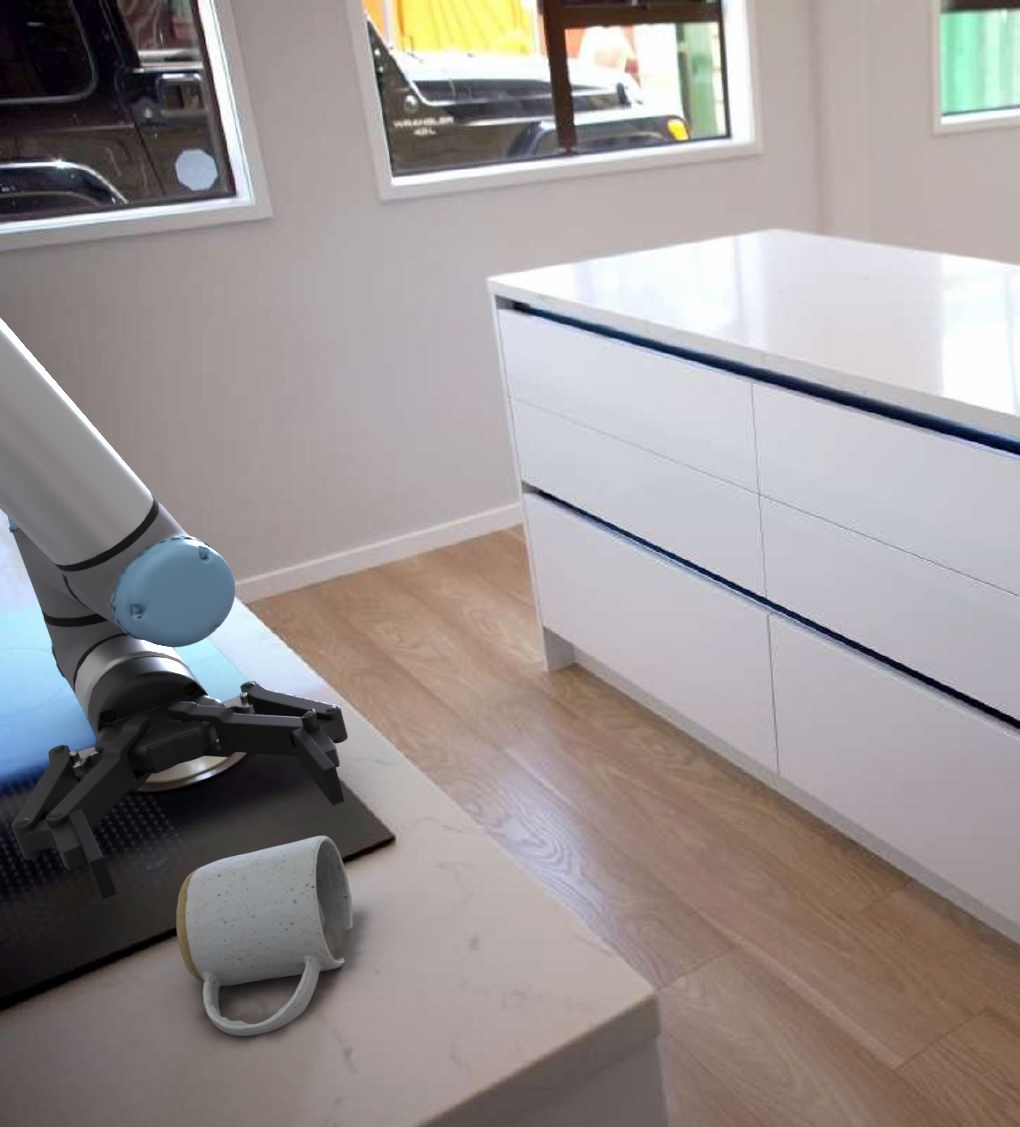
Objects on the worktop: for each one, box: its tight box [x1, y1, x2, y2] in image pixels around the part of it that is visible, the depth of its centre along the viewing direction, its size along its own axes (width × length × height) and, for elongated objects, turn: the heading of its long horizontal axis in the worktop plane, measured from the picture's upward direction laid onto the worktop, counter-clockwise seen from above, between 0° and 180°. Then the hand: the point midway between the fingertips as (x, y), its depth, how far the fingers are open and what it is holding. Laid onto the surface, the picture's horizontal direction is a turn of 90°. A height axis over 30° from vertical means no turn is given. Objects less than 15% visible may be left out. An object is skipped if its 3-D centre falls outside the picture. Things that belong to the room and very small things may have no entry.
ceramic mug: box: [175, 835, 354, 1037], centre depth 74 cm, size 11×8×8 cm
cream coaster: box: [136, 739, 249, 793], centre depth 98 cm, size 10×10×1 cm
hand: (224, 830), depth 79 cm, fingers open, 13 cm apart
